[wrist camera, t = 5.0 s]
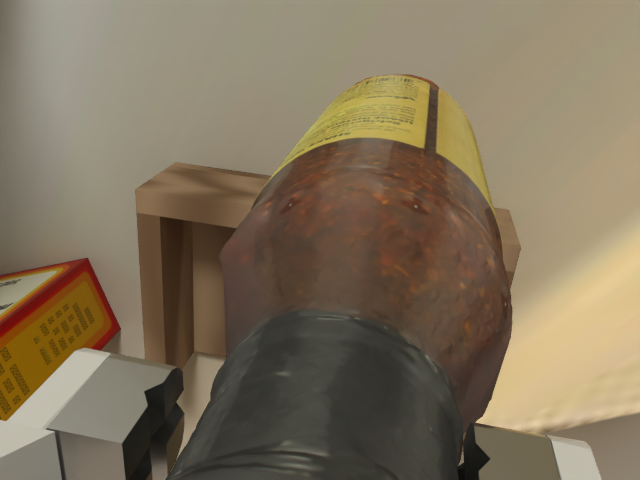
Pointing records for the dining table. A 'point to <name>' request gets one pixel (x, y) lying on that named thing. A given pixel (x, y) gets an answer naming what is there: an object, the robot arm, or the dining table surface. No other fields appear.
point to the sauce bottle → (360, 301)
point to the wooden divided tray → (205, 255)
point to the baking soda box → (47, 325)
